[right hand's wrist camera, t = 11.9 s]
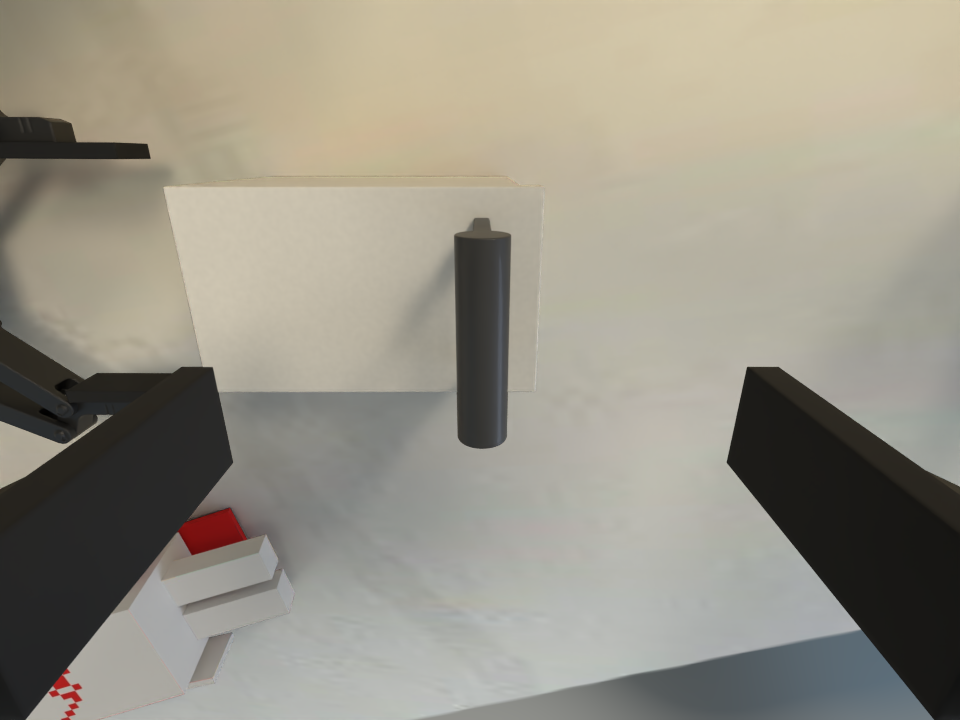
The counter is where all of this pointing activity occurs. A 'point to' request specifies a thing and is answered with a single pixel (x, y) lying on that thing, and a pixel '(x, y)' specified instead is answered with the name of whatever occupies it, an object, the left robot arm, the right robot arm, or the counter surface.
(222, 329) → the lid
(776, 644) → the counter surface
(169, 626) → the toy
